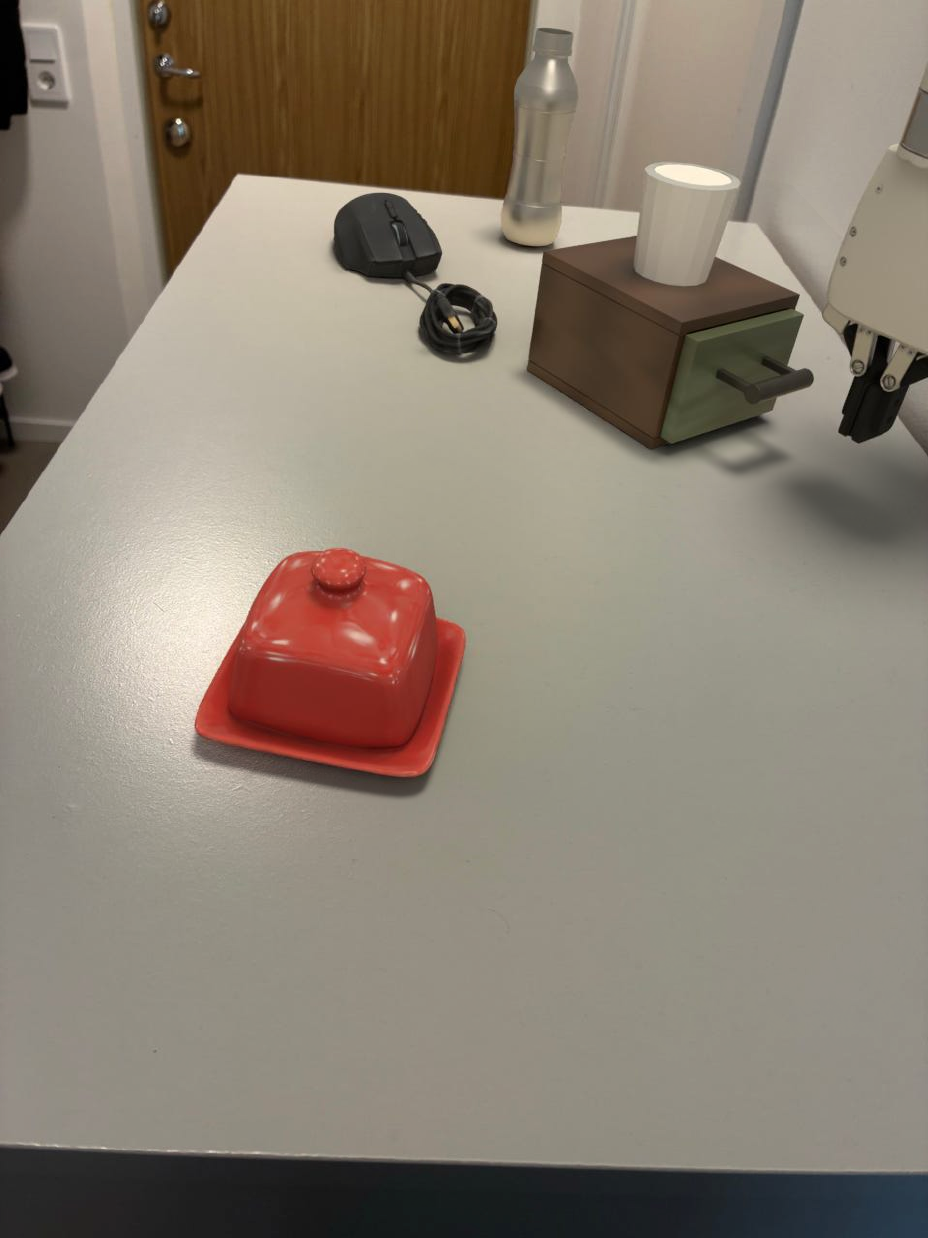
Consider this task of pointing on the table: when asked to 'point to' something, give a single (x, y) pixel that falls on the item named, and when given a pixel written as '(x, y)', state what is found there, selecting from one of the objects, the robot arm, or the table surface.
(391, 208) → the computer mouse
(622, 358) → the cabinet
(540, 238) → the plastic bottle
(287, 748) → the butter dish
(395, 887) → the table surface
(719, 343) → the drawer
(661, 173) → the white cup
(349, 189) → the table surface
